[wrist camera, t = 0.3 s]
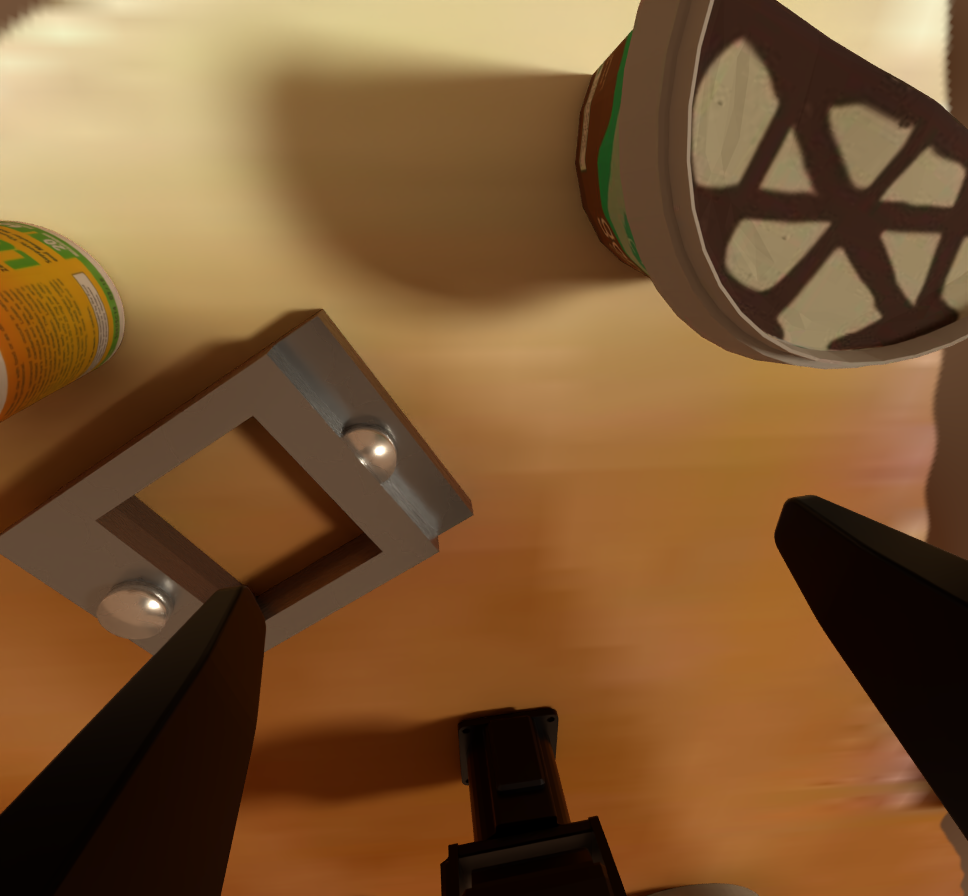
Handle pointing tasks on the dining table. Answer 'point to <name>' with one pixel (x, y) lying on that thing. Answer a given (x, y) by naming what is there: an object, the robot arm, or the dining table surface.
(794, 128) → the food container
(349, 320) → the dining table surface
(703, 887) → the cake pan
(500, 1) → the dining table surface
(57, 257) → the supplement bottle
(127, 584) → the grey knobbed square frame
